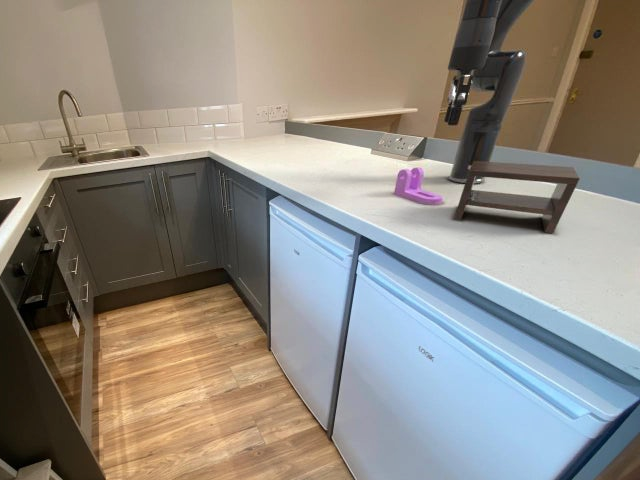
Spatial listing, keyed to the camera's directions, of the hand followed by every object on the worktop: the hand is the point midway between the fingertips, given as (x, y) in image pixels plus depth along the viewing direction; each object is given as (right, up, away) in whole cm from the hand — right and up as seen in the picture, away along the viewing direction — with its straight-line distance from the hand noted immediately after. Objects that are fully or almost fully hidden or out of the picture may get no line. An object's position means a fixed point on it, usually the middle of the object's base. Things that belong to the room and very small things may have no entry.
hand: (450, 123), depth 87 cm
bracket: (-5, -17, +6) cm, 19 cm away
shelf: (+6, -27, -9) cm, 29 cm away
